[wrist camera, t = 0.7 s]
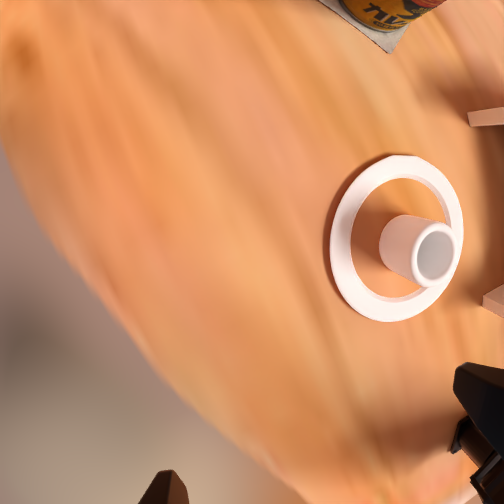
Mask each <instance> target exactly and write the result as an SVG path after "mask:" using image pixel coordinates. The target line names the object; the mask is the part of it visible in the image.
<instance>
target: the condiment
mask: <svg viewBox="0 0 504 504" xmlns="http://www.w3.org/2000/svg"><path fill="white" fill-rule="evenodd" d="M319 1H320V2H322V3H323V4H325V5H326V6H328V7H330V8H331V9H332V10H333V11H335V12H337V13H338V14H339V15H340V16H342V17H343V18H344V19H345V20H347V21H348V22H349V23H351V24H352V25H353V26H355V27H356V28H358V29H359V30H360V31H361V32H363V33H364V34H365V35H366V36H367V37H369V38H370V39H371V40H373V41H374V42H375V43H377V45H379V46H380V47H381V48H382V49H384V50H385V51H386V52H388V53H389V54H391V53H392V51H393V50H394V48H395V47H396V45H397V43H398V42H399V40H400V38H401V37H402V35H403V34H404V32H405V30H406V29H407V27H408V26H409V24H410V23H411V22H412V21H414V20H416V19H417V18H419V17H421V16H422V15H423V14H425V13H427V12H428V11H430V10H432V9H433V8H435V7H437V6H438V5H440V4H442V3H443V2H444V1H446V0H319Z"/></svg>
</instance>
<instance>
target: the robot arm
mask: <svg viewBox="0 0 504 504" xmlns="http://www.w3.org/2000/svg"><path fill="white" fill-rule="evenodd" d="M453 391H454V394H455V395H456V397H457V398H458V400H459V401H460V403H461V404H462V406H463V407H464V409H465V410H466V412H467V413H468V415H469V416H468V417H466V418H465V419H463V420H462V421H460V422H459V424H458V426H457V430H456V434H455V438H454V441H453V445H452V448H451V453H452V454H454V453H456V452H458V451H459V450H461V449H462V450H463V451H464V452H465V453H466V454H467V455H468V456H469V458H470V459H471V460H472V461H473V462H474V463H475V464H476V465H477V466H478V468H479V469H478V470H477V471H476V472H475V473H474V474H473V475H472V476H471V477H470V479H471V481H470V483H471V484H472V485H473V486H474V488H475V489H476V490H477V492H478V494H479V496H480V498H481V501H482V503H483V504H504V369H500V368H494V367H490V366H485V365H480V364H475V363H470V362H465V363H463V364H462V365H460V366H459V367H457V368H456V370H455V376H454V383H453ZM138 504H189V499H188V493H187V489H186V486H185V485H184V483H183V482H182V481H181V479H180V478H179V476H178V475H177V474H176V472H175V471H174V470H164V471H160V472H158V473H157V475H156V476H155V478H154V479H153V481H152V483H151V484H150V486H149V487H148V489H147V490H146V492H145V494H144V495H143V497H142V498H141V500H140V502H139V503H138Z"/></svg>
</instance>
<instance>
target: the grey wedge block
mask: <svg viewBox="0 0 504 504" xmlns="http://www.w3.org/2000/svg"><path fill="white" fill-rule="evenodd" d="M467 115H468V119H469V124H470V127H474V126H491V125H504V107H499V108H492V109H485V110H479V111H473V112H467ZM482 307H484V308H486V309H487V310H489V311H491V312H493V313H495V314H497V315H499V316H501V317H503V318H504V284H502V285H501V286H499V287H497V288H495V289H494V290H492V291H490V292H488V293H487V294H485V295H483V305H482Z"/></svg>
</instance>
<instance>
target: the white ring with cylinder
mask: <svg viewBox="0 0 504 504" xmlns="http://www.w3.org/2000/svg"><path fill="white" fill-rule="evenodd" d="M396 178H410V179H414V180H417V181H419V182H421V183H423V184H425V185H426V186H427V187H428V188H430V189H431V190H432V192H433V193H434V194H435V195H436V197H437V198H438V200H439V202H440V204H441V206H442V208H443V211H444V215H445V219H446V224H445V223H443V222H440V221H435V220H431V219H426V218H422V217H417V216H412V215H399V216H397V217H394V218H393V219H392V220H390V221H389V222H388V223H387V224H386V226H385V227H384V229H383V231H382V233H381V237H380V240H379V253H380V256H381V259H382V261H383V263H384V264H385V265H386V267H387V268H389V269H390V270H391V271H393V272H395V273H397V274H399V275H401V276H403V277H405V278H407V279H408V280H410V281H412V282H414V283H416V284H418V285H420V286H422V287H421V288H420V289H418V290H417V291H415V292H413V293H411V294H409V295H406V296H403V297H398V298H388V297H383V296H380V295H377V294H375V293H374V292H372V291H371V290H369V289H368V288H367V287H366V286H365V285H364V284H363V283H362V281H361V280H360V278H359V277H358V275H357V273H356V271H355V268H354V265H353V262H352V257H351V248H350V241H351V232H352V227H353V223H354V220H355V217H356V214H357V212H358V210H359V208H360V206H361V205H362V203H363V201H364V200H365V199H366V197H367V196H368V195H369V194H370V193H371V192H372V191H373V190H374V189H375V188H376V187H378V186H379V185H381V184H382V183H384V182H386V181H389V180H392V179H396ZM462 244H463V218H462V212H461V208H460V204H459V201H458V198H457V196H456V193H455V191H454V189H453V187H452V186H451V184H450V183H449V181H448V180H447V178H446V177H445V176H444V175H443V174H442V173H441V172H440V171H439V170H438V169H437V168H436V167H434V166H433V165H431V164H430V163H428V162H427V161H425V160H423V159H421V158H419V157H417V156H402V155H392V156H389V157H387V158H385V159H382V160H380V161H378V162H376V163H375V164H373V165H371V166H370V167H368V168H367V169H366V170H364V171H363V172H362V173H361V174H360V175H359V176H358V177H357V178H356V179H355V180H354V181H353V183H352V184H351V185H350V186H349V188H348V189H347V191H346V192H345V194H344V196H343V198H342V200H341V202H340V204H339V206H338V208H337V211H336V214H335V217H334V220H333V224H332V229H331V236H330V262H331V268H332V272H333V276H334V279H335V282H336V284H337V287H338V289H339V291H340V293H341V294H342V296H343V297H344V299H345V300H346V301H347V303H348V304H349V305H350V306H351V307H352V308H353V309H355V310H356V311H357V312H358V313H360V314H362V315H363V316H365V317H367V318H370V319H373V320H376V321H382V322H394V321H400V320H404V319H407V318H410V317H412V316H415V315H416V314H418V313H420V312H422V311H423V310H425V309H426V308H427V307H429V306H430V305H431V304H432V303H433V302H434V301H435V300H436V299H437V298H438V297H439V296H440V295H441V294H442V292H443V291H444V290H445V288H446V287H447V285H448V284H449V282H450V280H451V278H452V276H453V274H454V272H455V270H456V267H457V265H458V262H459V258H460V254H461V250H462Z"/></svg>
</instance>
